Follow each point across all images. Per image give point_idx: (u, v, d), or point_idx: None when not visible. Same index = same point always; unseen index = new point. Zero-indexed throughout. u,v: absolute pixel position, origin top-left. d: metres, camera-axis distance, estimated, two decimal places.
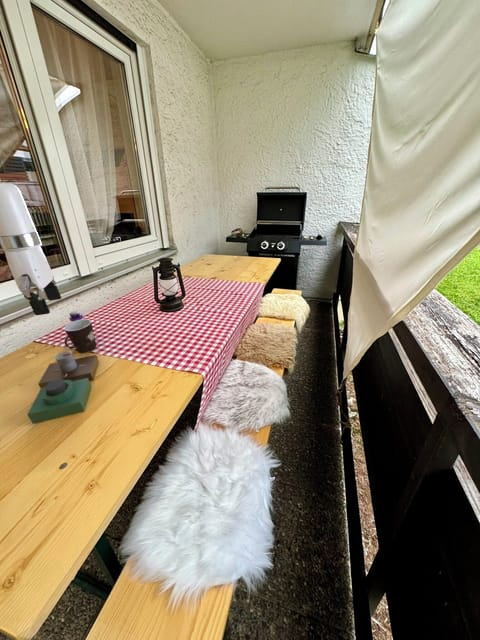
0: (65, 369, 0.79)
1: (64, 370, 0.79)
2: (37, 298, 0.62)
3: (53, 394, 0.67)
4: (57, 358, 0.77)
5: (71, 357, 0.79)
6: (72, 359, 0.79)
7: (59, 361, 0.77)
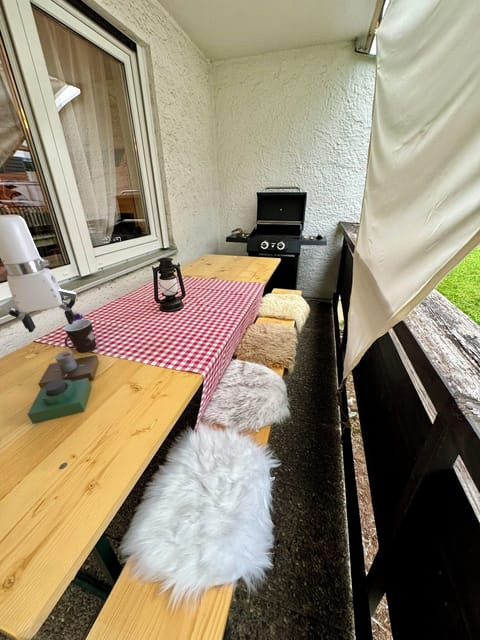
0: (65, 369, 0.79)
1: (64, 370, 0.79)
2: (18, 317, 0.69)
3: (53, 394, 0.67)
4: (57, 358, 0.77)
5: (71, 357, 0.79)
6: (72, 359, 0.79)
7: (59, 361, 0.77)
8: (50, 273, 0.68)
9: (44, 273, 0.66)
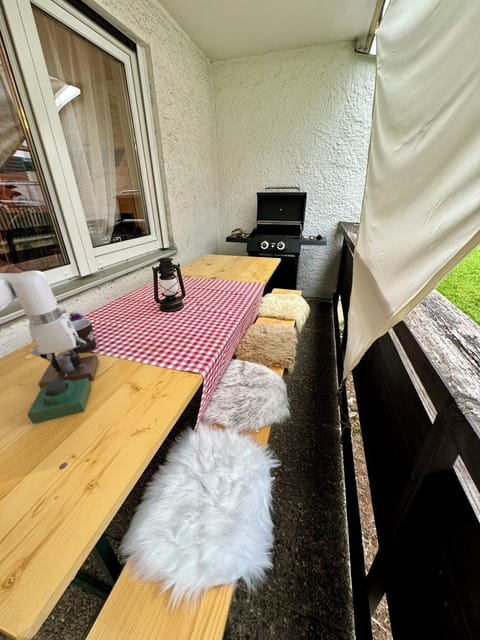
0: (65, 369, 0.79)
1: (64, 370, 0.79)
2: None
3: (53, 394, 0.67)
4: (57, 358, 0.77)
5: (71, 357, 0.79)
6: None
7: (59, 361, 0.77)
8: (66, 319, 0.74)
9: (61, 321, 0.72)
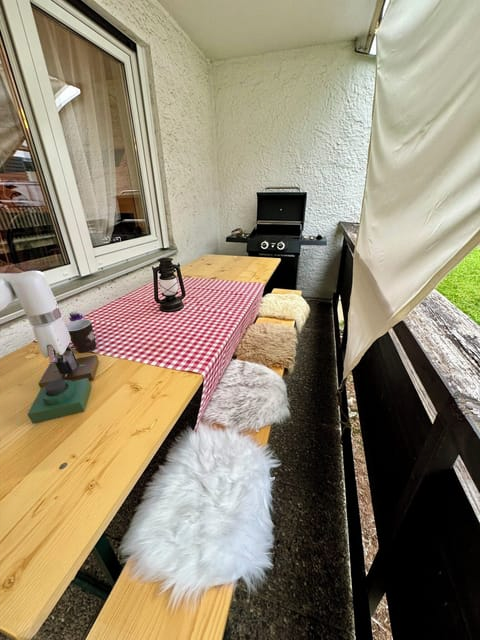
0: (75, 363, 0.81)
1: (75, 365, 0.81)
2: (62, 362, 0.75)
3: (53, 394, 0.67)
4: (67, 356, 0.78)
5: None
6: None
7: (71, 356, 0.79)
8: None
9: None
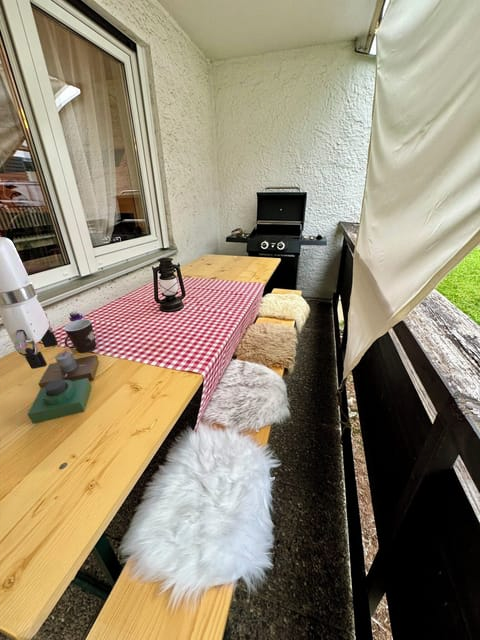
0: (75, 363, 0.81)
1: (75, 365, 0.81)
2: (33, 353, 0.59)
3: (53, 394, 0.67)
4: (67, 356, 0.78)
5: None
6: None
7: (71, 356, 0.79)
8: None
9: None
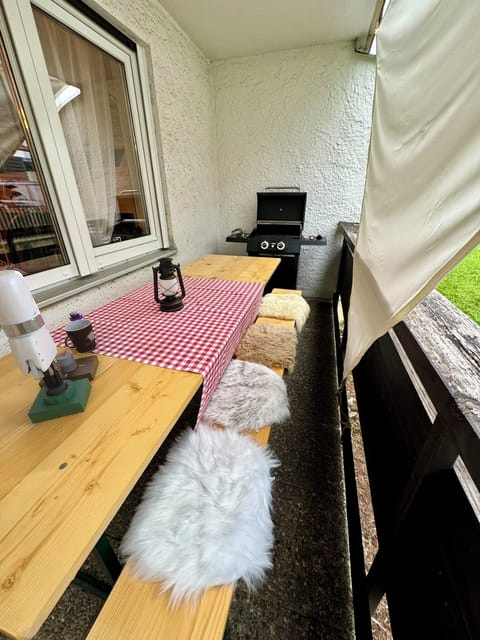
0: (75, 363, 0.81)
1: (75, 365, 0.81)
2: (49, 374, 0.65)
3: (53, 394, 0.67)
4: (67, 356, 0.78)
5: None
6: None
7: (71, 356, 0.79)
8: None
9: None
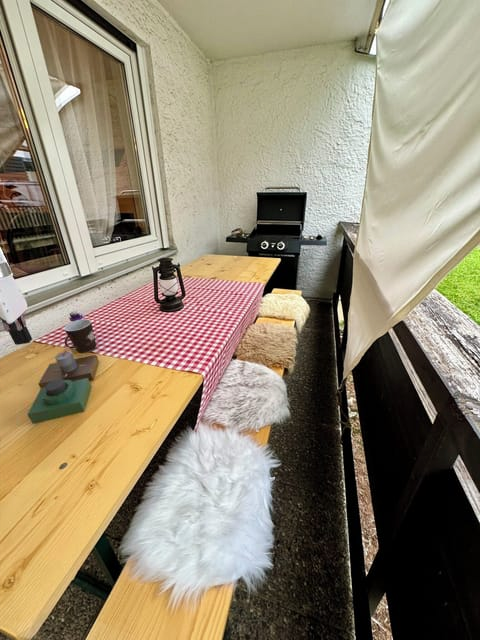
0: (75, 363, 0.81)
1: (75, 365, 0.81)
2: (17, 329, 0.62)
3: (53, 394, 0.67)
4: (67, 356, 0.78)
5: None
6: None
7: (71, 356, 0.79)
8: None
9: None
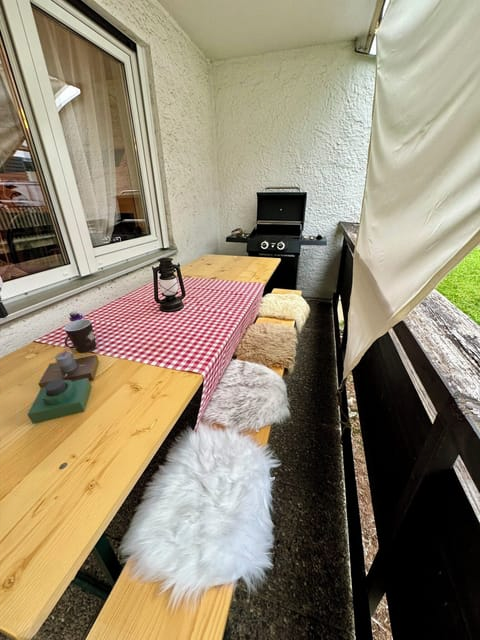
0: (75, 363, 0.81)
1: (75, 365, 0.81)
2: None
3: (53, 394, 0.67)
4: (67, 356, 0.78)
5: None
6: None
7: (71, 356, 0.79)
8: None
9: None
